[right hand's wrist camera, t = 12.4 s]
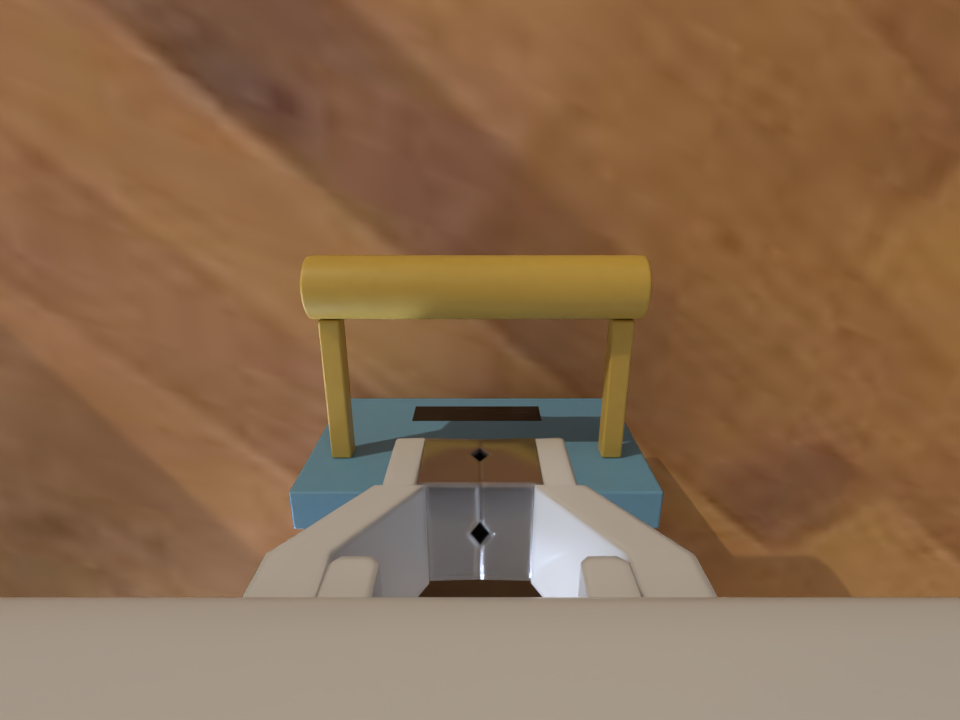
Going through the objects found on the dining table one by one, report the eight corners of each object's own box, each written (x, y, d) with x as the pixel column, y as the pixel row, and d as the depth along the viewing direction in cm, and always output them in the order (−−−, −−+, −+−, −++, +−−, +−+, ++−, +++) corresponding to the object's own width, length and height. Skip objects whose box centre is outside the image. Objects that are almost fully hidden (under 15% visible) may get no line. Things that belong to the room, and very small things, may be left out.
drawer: (326, 235, 18) (256, 270, 13) (627, 234, 18) (695, 270, 13) (374, 746, 27) (346, 908, 21) (580, 746, 27) (608, 908, 21)
